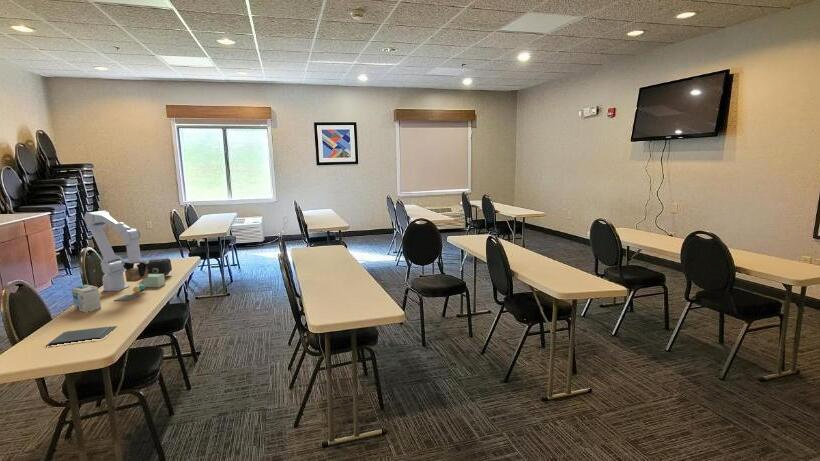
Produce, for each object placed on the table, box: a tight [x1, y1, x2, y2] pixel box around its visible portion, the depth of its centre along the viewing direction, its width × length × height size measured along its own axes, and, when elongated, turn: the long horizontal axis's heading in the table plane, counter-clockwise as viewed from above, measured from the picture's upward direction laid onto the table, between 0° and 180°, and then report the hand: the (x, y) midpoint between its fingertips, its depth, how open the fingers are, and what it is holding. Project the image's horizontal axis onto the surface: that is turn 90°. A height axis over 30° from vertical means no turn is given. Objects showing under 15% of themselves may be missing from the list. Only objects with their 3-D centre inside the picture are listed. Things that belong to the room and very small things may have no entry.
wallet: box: [45, 325, 118, 347], centre depth 166 cm, size 20×2×15 cm
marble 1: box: [132, 286, 141, 294], centre depth 220 cm, size 3×3×3 cm
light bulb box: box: [71, 284, 102, 313], centre depth 196 cm, size 11×7×11 cm, turn 62°
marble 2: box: [137, 284, 146, 291], centre depth 224 cm, size 3×3×3 cm
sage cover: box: [142, 274, 166, 288], centre depth 231 cm, size 5×9×6 cm, turn 85°
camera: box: [147, 258, 173, 277], centre depth 247 cm, size 11×11×15 cm
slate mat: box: [113, 294, 141, 302], centre depth 211 cm, size 8×8×1 cm
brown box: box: [124, 266, 148, 283], centre depth 221 cm, size 5×9×6 cm, turn 175°
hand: (137, 276), depth 221 cm, fingers closed on brown box, 5 cm apart
